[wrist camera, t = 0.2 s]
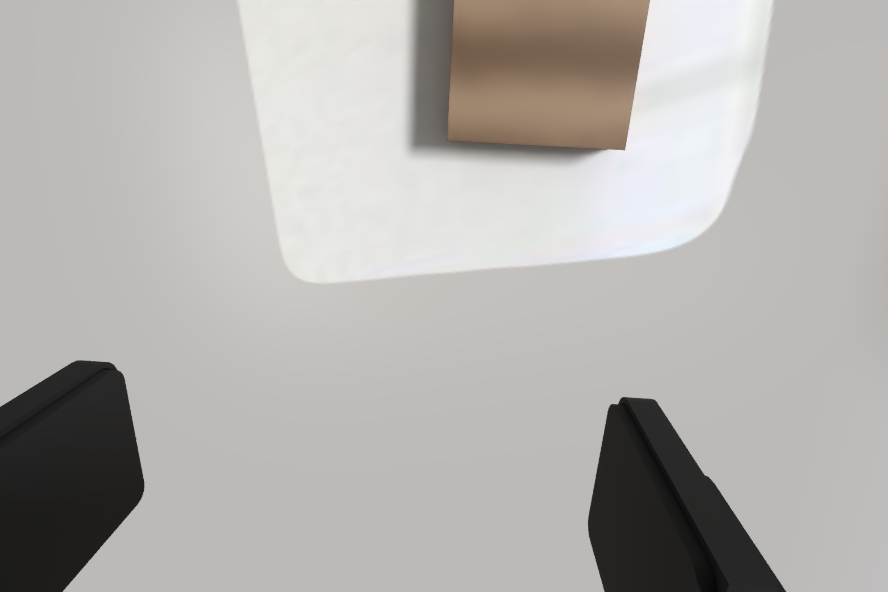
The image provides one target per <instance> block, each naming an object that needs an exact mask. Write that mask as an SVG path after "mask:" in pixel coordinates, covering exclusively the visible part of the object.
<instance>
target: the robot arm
mask: <svg viewBox="0 0 888 592" xmlns="http://www.w3.org/2000/svg"><path fill="white" fill-rule="evenodd" d="M143 492H144V479H143V474H142V468H141V463H140V458H139V453H138V447H137V442H136V437H135V431H134V427H133V421H132V416H131V410H130V405H129V400H128V395H127V389H126V384H125V379H124V376H123V374H122V373H121V372H120V371H118V370H117V369H116V367H115V366H114V365H113V364H111V363H109V362H96V361H75V362H73V363H71V364H69V365H68V366H66V367H64V368H63V369H61V370H59V371H58V372H56V373H55V374H53V375H51V376H50V377H48V378H46V379H45V380H43V381H42V382H40V383H38V384H37V385H35V386H34V387H32V388H30V389H29V390H27V391H26V392H24V393H22V394H21V395H19V396H17V397H16V398H14V399H12V400H11V401H9V402H8V403H6V404H4V405H3V406H1V407H0V592H63V590H64V589H65V588H66V587H67V586H68V585H69V584H70V582H71V581H72V580H73V579H74V578H75V577H76V575H77V574H78V573H79V572H80V571H81V570H82V568H83V567H84V566H85V565H86V563H88V561H89V560H90V559H91V558H92V557H93V556H94V554H95V553H96V552H97V551H98V550H99V549H100V547H101V546H102V545H103V544H104V543H105V542H106V540H107V539H108V538H109V537H110V536H111V535H112V534H113V532H114V531H115V530H116V529H117V528H118V526H119V525H120V524H121V523H122V522H123V521H124V519H125V518H126V517H127V516H128V515H129V514H130V513H131V511H132V510H133V509H134V508H135V507H136V506H137V504H138V503H139V501H140V500H141V498H142V495H143ZM588 531H589V537H590V541H591V545H592V548H593V552H594V556H595V559H596V562H597V566H598V570H599V573H600V577H601V580H602V584H603V588H604V591H605V592H786V591H785V589H784V588H783V586H782V585H781V583H780V582H779V580H778V579H777V577H776V576H775V574H774V573H773V571H772V570H771V568H770V567H769V565H768V564H767V562H766V561H765V559H764V558H763V556H762V555H761V553H760V552H759V550H758V549H757V547H756V546H755V544H754V543H753V541H752V540H751V538H750V537H749V535H748V534H747V532H746V531H745V529H744V528H743V526H742V525H741V523H740V522H739V520H738V519H737V517H736V516H735V514H734V512H733V511H732V510H731V508H730V506H729V505H728V503H727V502H726V501H725V499H724V497H723V496H722V495H721V493H720V491H719V490H718V488H717V487H716V485H715V484H714V483H713V482H712V480H711V479H710V478H709V477H707V476H705V475H704V474H703V472H702V471H701V469H700V468H699V466H698V465H697V463H696V462H695V460H694V459H693V457H692V455H691V454H690V452H689V451H688V449H687V448H686V446H685V445H684V443H683V442H682V440H681V439H680V437H679V436H678V434H677V433H676V431H675V429H674V428H673V426H672V425H671V423H670V422H669V420H668V419H667V417H666V416H665V414H664V413H663V411H662V409H661V408H660V407H659V405H658V403H657V402H656V401H655V400H653V399H643V398H628V397H623V398H621V399H620V401H619V403H618V405H617V404H611V405H610V407H609V409H608V414H607V419H606V425H605V430H604V436H603V441H602V447H601V452H600V457H599V463H598V468H597V474H596V479H595V484H594V490H593V495H592V501H591V506H590V512H589V518H588Z"/></svg>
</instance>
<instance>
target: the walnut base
mask: <svg viewBox="0 0 888 592" xmlns="http://www.w3.org/2000/svg"><path fill="white" fill-rule="evenodd" d="M649 2H650V0H454V11H453V32H452V52H451V72H450V92H449V113H448V133H447V141H466V142H484V143H503V144H521V145H540V146H558V147H576V148H595V149H613V150H625V147H626V141H627V135H628V129H629V123H630V117H631V111H632V105H633V99H634V93H635V87H636V81H637V75H638V69H639V63H640V57H641V51H642V45H643V39H644V33H645V26H646V20H647V14H648V8H649Z"/></svg>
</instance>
